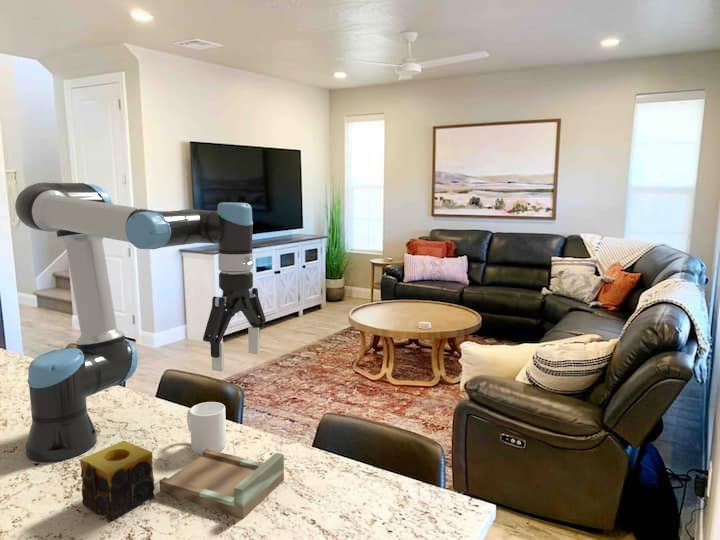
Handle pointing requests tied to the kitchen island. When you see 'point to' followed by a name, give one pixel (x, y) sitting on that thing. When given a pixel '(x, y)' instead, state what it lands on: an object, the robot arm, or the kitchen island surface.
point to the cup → (207, 427)
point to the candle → (117, 479)
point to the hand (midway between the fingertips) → (237, 361)
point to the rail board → (225, 482)
